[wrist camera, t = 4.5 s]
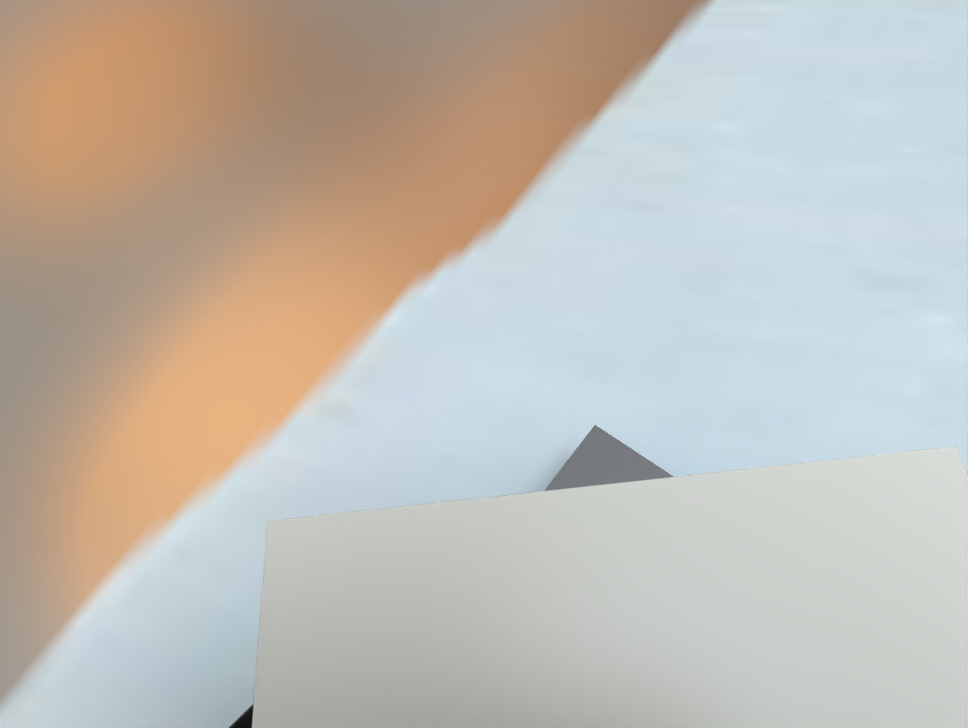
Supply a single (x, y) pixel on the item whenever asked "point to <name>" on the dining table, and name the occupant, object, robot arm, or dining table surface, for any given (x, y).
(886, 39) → the dining table surface
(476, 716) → the block
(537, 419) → the dining table surface
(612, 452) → the power strip
